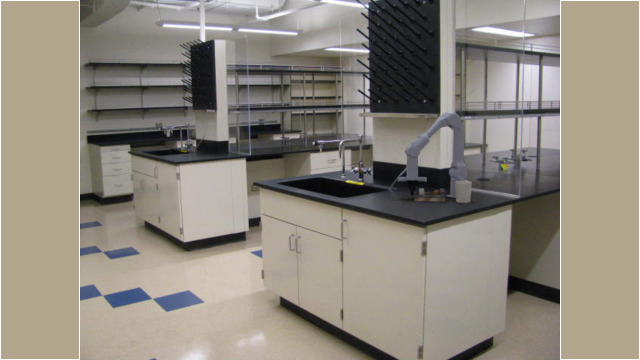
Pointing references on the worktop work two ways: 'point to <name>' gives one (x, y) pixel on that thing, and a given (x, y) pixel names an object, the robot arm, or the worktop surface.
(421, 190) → the grey rectangular block
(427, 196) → the wooden shadow box
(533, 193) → the worktop surface
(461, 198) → the white cup
